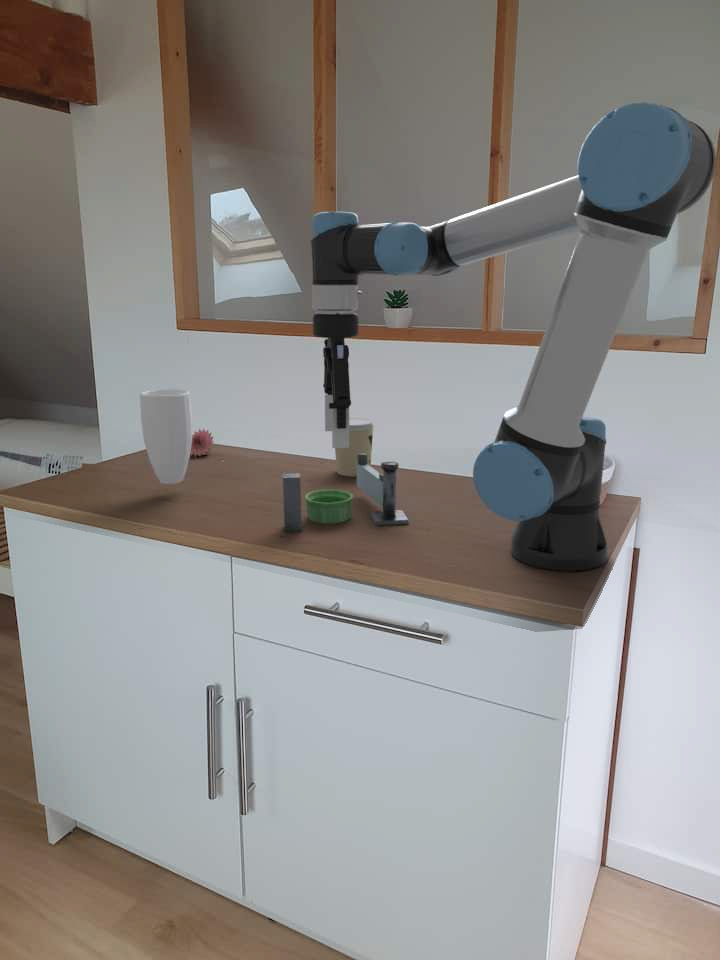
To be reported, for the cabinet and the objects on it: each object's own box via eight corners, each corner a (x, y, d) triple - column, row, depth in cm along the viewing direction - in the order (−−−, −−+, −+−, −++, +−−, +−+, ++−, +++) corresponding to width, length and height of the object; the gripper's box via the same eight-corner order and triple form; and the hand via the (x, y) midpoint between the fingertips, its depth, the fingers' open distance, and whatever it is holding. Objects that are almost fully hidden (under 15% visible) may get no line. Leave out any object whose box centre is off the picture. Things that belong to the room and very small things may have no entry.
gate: (391, 506, 140) (391, 470, 138) (381, 507, 139) (381, 471, 138) (364, 485, 155) (364, 452, 153) (355, 485, 154) (355, 453, 152)
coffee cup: (379, 475, 170) (380, 423, 167) (341, 479, 167) (341, 426, 164) (364, 465, 179) (364, 416, 176) (327, 469, 175) (327, 419, 172)
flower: (207, 428, 194) (196, 419, 189) (226, 444, 190) (215, 435, 186) (187, 451, 194) (176, 443, 189) (206, 468, 190) (195, 460, 185)
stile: (301, 531, 133) (300, 477, 130) (284, 532, 132) (283, 477, 130) (300, 525, 136) (299, 472, 133) (283, 526, 135) (282, 473, 133)
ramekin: (295, 518, 140) (295, 495, 139) (330, 508, 146) (330, 486, 145) (327, 529, 134) (327, 505, 133) (362, 518, 140) (362, 495, 139)
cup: (159, 505, 148) (151, 398, 142) (138, 493, 156) (129, 391, 150) (206, 495, 154) (200, 392, 149) (183, 485, 162) (177, 387, 157)
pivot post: (408, 523, 136) (409, 467, 134) (376, 525, 136) (376, 468, 133) (401, 514, 142) (402, 459, 139) (371, 515, 141) (371, 460, 138)
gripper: (369, 315, 110) (368, 454, 116) (349, 308, 134) (349, 424, 140) (318, 316, 109) (320, 456, 115) (307, 309, 133) (309, 425, 139)
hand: (336, 438), depth 127 cm, fingers open, 13 cm apart
